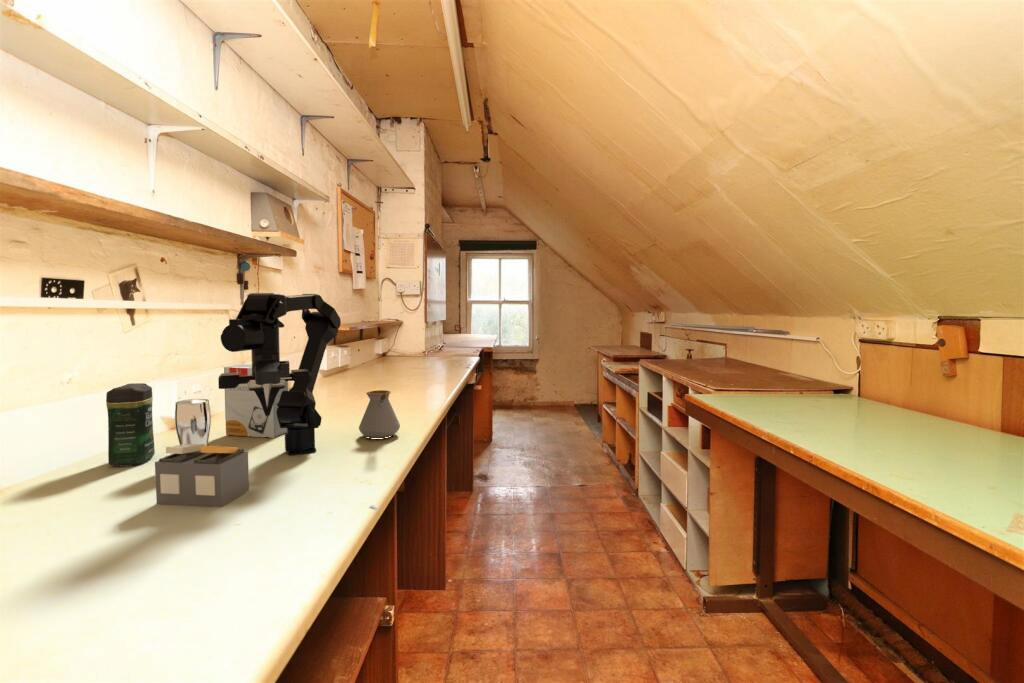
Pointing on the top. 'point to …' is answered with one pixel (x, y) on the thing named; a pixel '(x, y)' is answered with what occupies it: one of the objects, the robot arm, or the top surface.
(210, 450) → the amber rocker
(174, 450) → the white rocker
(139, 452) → the coffee jar
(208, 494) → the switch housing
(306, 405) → the robot arm
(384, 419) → the coffee pot
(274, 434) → the hard drive box
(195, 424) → the beer glass
